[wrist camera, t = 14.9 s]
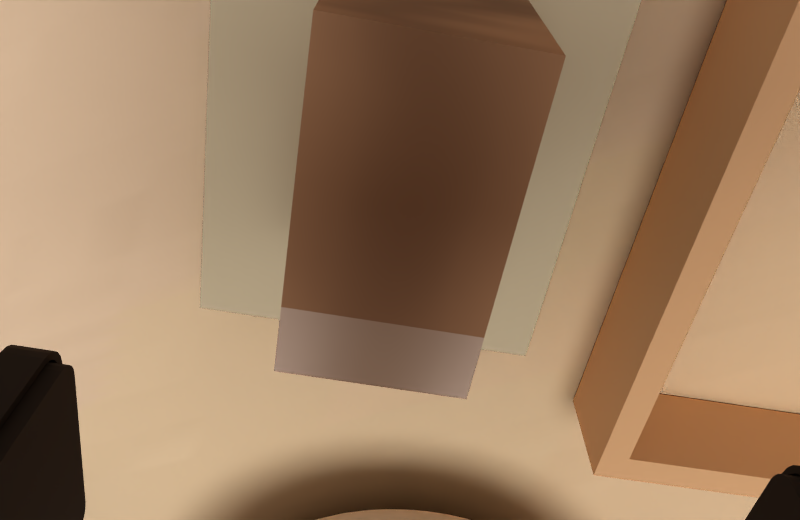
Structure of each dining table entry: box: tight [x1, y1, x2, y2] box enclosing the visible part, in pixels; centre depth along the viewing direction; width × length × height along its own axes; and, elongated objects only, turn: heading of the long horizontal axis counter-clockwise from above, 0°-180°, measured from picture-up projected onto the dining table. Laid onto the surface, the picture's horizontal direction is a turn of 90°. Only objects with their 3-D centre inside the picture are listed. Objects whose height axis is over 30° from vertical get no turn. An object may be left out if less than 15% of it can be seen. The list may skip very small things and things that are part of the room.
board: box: [200, 0, 642, 356], centre depth 23 cm, size 12×16×2 cm
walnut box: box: [274, 0, 566, 399], centre depth 19 cm, size 5×9×7 cm, turn 170°
